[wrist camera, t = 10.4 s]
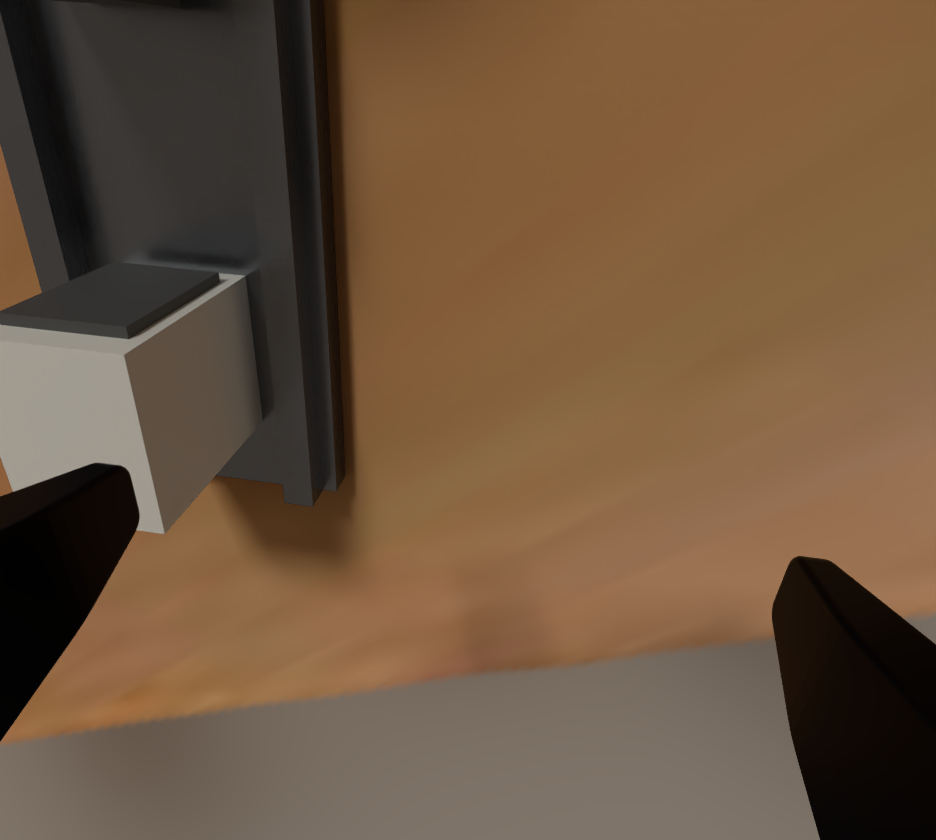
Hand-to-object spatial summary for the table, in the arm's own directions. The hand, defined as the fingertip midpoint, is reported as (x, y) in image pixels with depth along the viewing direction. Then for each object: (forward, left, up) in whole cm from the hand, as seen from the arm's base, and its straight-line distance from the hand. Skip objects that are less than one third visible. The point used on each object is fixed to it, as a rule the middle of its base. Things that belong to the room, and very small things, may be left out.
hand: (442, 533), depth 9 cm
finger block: (+10, +3, -11) cm, 15 cm away
